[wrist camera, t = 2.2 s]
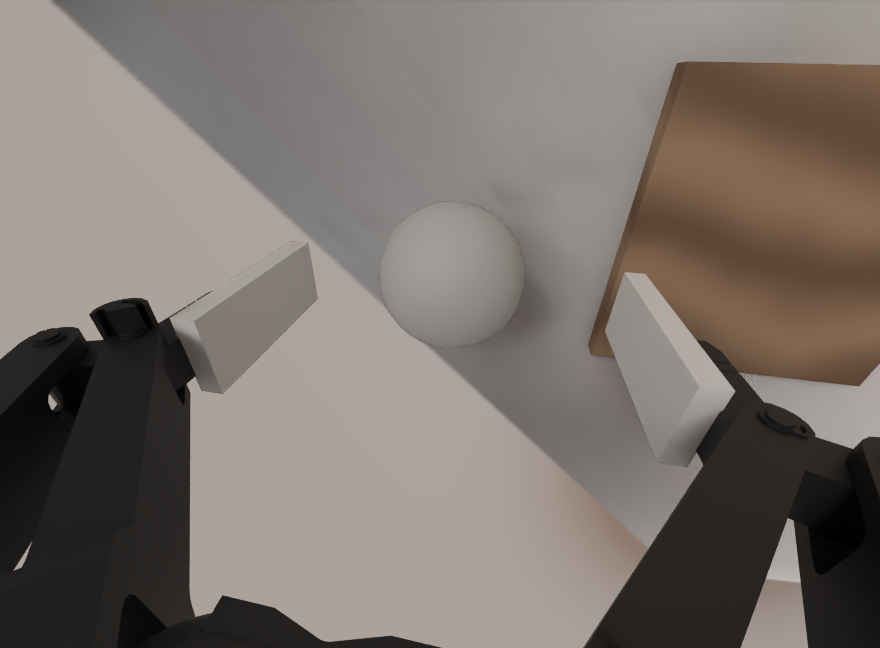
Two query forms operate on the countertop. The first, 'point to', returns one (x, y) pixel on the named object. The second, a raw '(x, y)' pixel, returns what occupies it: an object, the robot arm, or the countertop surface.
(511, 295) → the lightbulb
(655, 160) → the plate
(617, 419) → the countertop surface
